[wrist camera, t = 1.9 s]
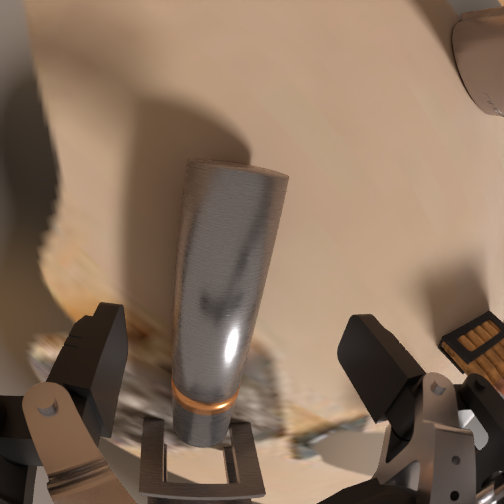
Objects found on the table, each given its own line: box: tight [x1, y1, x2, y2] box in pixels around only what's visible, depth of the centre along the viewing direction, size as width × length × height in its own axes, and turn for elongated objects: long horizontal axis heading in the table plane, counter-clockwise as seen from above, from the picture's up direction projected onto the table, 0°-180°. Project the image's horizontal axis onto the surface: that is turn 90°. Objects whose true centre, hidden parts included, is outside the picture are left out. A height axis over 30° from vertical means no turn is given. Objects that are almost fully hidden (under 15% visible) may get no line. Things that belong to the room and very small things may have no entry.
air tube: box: [171, 159, 289, 448], centre depth 16 cm, size 20×5×5 cm, turn 168°
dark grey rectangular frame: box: [148, 445, 252, 504], centre depth 21 cm, size 1×11×8 cm, turn 78°
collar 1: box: [139, 418, 266, 500], centre depth 19 cm, size 1×11×8 cm, turn 78°
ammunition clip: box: [438, 311, 504, 395], centre depth 20 cm, size 11×2×12 cm, turn 96°
